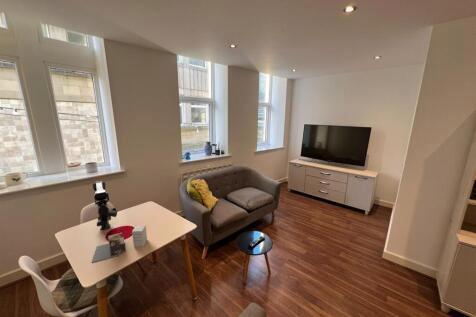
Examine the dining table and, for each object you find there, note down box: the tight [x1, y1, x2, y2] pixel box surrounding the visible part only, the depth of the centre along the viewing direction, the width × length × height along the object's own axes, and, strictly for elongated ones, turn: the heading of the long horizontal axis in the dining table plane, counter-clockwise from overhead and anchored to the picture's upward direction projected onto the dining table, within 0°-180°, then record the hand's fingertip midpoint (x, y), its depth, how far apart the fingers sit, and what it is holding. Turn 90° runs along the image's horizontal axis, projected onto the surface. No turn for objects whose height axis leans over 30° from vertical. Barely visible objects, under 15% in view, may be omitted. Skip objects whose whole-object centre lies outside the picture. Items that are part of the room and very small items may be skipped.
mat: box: [91, 243, 120, 264], centre depth 136 cm, size 17×15×1 cm
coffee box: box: [107, 232, 126, 256], centre depth 139 cm, size 9×6×16 cm
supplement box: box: [131, 225, 148, 247], centre depth 144 cm, size 7×7×13 cm
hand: (105, 228), depth 142 cm, fingers closed
